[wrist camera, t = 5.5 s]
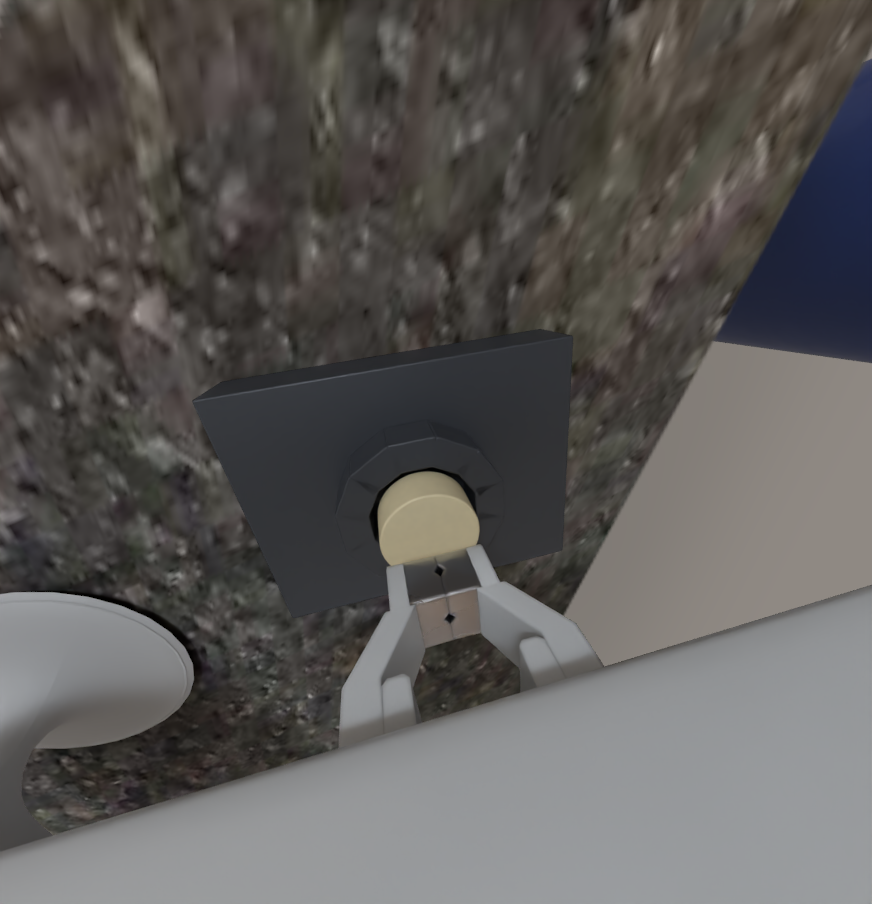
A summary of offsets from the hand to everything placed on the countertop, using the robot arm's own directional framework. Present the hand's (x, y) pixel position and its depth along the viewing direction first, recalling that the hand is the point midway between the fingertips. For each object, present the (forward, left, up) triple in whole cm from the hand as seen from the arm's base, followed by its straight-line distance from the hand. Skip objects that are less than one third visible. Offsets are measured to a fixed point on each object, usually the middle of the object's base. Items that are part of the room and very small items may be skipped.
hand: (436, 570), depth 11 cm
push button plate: (0, 0, -7) cm, 7 cm away
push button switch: (0, 0, -3) cm, 3 cm away
